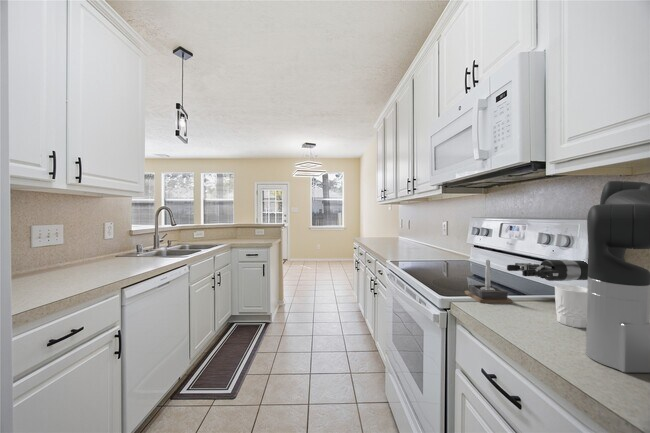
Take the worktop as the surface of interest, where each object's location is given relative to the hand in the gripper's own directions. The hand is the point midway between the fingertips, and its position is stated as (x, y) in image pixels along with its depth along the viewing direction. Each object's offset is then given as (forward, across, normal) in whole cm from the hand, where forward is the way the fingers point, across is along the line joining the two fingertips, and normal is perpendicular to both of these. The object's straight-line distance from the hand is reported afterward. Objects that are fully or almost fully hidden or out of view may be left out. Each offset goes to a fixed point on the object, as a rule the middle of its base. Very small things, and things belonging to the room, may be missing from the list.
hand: (515, 270), depth 103 cm
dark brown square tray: (+10, 0, +10) cm, 14 cm away
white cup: (-1, +23, +10) cm, 25 cm away
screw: (+10, 0, +9) cm, 14 cm away
